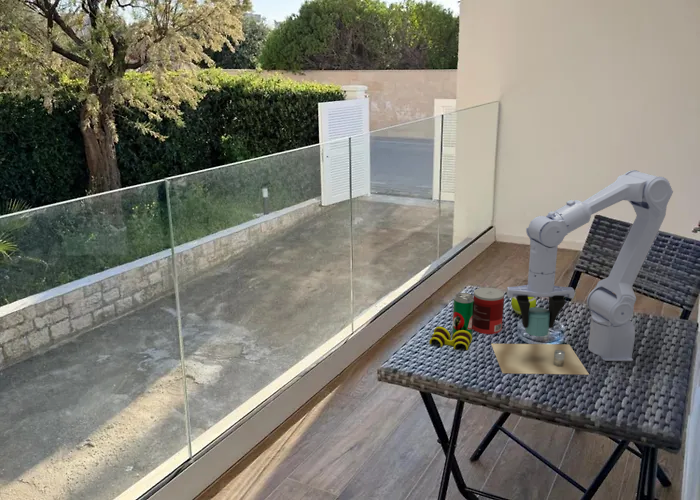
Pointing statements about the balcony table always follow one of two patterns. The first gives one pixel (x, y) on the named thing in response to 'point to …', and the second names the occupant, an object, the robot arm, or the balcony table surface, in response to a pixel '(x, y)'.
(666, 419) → the balcony table surface
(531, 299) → the tennis ball
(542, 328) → the teal cap
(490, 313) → the canned food
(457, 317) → the soda can
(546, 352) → the birch board
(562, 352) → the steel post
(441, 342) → the opera glasses
